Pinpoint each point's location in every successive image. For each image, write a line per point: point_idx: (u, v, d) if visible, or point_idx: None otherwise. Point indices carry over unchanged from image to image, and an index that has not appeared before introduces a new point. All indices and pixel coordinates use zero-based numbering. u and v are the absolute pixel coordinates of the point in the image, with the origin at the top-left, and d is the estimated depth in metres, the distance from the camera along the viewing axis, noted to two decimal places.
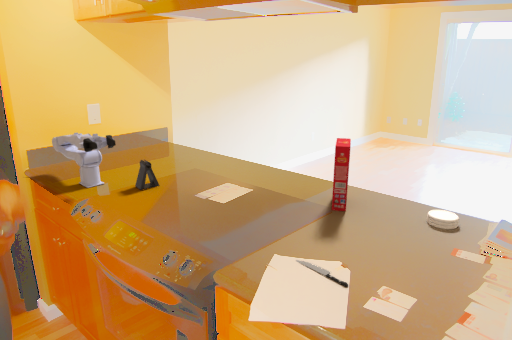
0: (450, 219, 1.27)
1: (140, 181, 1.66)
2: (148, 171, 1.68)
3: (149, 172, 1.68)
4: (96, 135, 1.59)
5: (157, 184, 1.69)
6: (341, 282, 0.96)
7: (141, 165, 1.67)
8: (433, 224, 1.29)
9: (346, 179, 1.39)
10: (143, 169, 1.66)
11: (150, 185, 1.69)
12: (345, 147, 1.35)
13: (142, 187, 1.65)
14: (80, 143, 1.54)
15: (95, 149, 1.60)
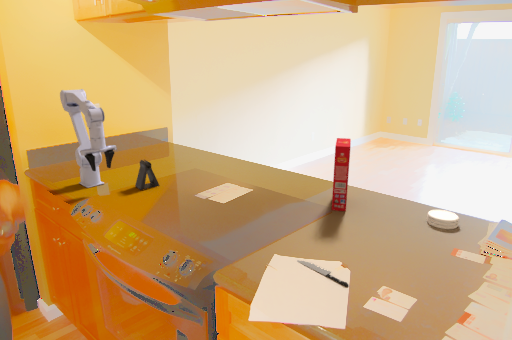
0: (450, 219, 1.27)
1: (140, 181, 1.66)
2: (148, 171, 1.68)
3: (149, 172, 1.68)
4: (103, 150, 1.55)
5: (157, 184, 1.69)
6: (341, 282, 0.96)
7: (141, 165, 1.67)
8: (433, 224, 1.29)
9: (346, 179, 1.39)
10: (143, 169, 1.66)
11: (150, 185, 1.69)
12: (345, 147, 1.35)
13: (142, 187, 1.65)
14: (83, 154, 1.52)
15: None
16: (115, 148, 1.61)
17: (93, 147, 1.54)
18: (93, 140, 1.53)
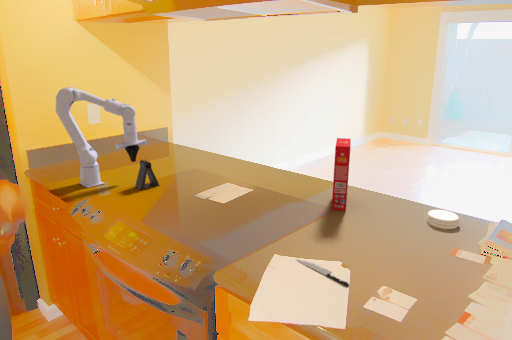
0: (450, 219, 1.27)
1: (140, 181, 1.66)
2: (148, 171, 1.68)
3: (149, 172, 1.68)
4: (135, 144, 1.70)
5: (157, 184, 1.69)
6: (342, 282, 0.96)
7: (141, 165, 1.67)
8: (433, 224, 1.29)
9: (346, 179, 1.39)
10: (143, 169, 1.66)
11: (150, 185, 1.69)
12: (345, 147, 1.35)
13: (142, 187, 1.65)
14: (118, 148, 1.67)
15: None
16: (145, 142, 1.76)
17: (127, 141, 1.69)
18: (127, 135, 1.68)
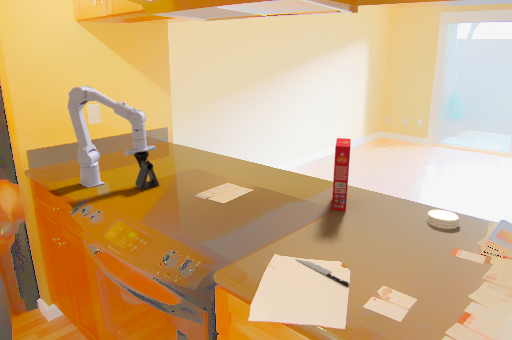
0: (450, 219, 1.27)
1: (141, 181, 1.65)
2: (149, 171, 1.67)
3: (150, 172, 1.67)
4: (145, 150, 1.65)
5: (157, 184, 1.69)
6: (342, 281, 0.96)
7: (142, 165, 1.66)
8: (433, 224, 1.29)
9: (346, 179, 1.39)
10: (144, 169, 1.64)
11: (150, 185, 1.69)
12: (345, 147, 1.35)
13: (142, 187, 1.65)
14: (127, 154, 1.62)
15: None
16: (155, 148, 1.71)
17: (136, 147, 1.64)
18: (136, 141, 1.63)
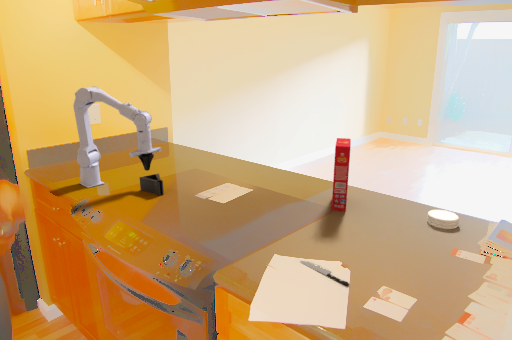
0: (450, 219, 1.27)
1: (145, 188, 1.63)
2: None
3: None
4: (150, 152, 1.63)
5: None
6: (342, 282, 0.96)
7: (155, 185, 1.58)
8: (433, 224, 1.29)
9: (346, 179, 1.39)
10: (154, 190, 1.60)
11: None
12: (345, 147, 1.35)
13: None
14: (132, 156, 1.59)
15: None
16: (160, 150, 1.69)
17: (141, 149, 1.62)
18: (141, 142, 1.61)
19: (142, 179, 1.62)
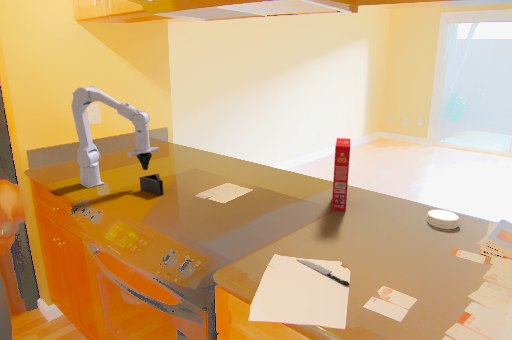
0: (450, 219, 1.27)
1: (145, 188, 1.63)
2: None
3: None
4: (148, 152, 1.64)
5: None
6: (342, 281, 0.96)
7: (155, 185, 1.58)
8: (433, 224, 1.29)
9: (346, 179, 1.39)
10: (154, 190, 1.60)
11: None
12: (345, 147, 1.35)
13: None
14: (130, 156, 1.60)
15: None
16: (158, 150, 1.70)
17: (139, 149, 1.63)
18: (139, 142, 1.62)
19: (142, 179, 1.62)
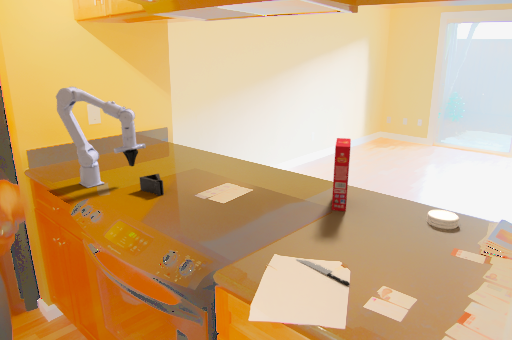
0: (450, 219, 1.27)
1: (145, 188, 1.63)
2: None
3: None
4: (134, 148, 1.68)
5: None
6: (342, 281, 0.96)
7: (155, 185, 1.58)
8: (433, 224, 1.29)
9: (346, 179, 1.39)
10: (154, 190, 1.60)
11: None
12: (345, 147, 1.35)
13: None
14: (116, 152, 1.64)
15: None
16: (144, 146, 1.74)
17: (125, 145, 1.67)
18: (125, 139, 1.66)
19: (142, 179, 1.62)
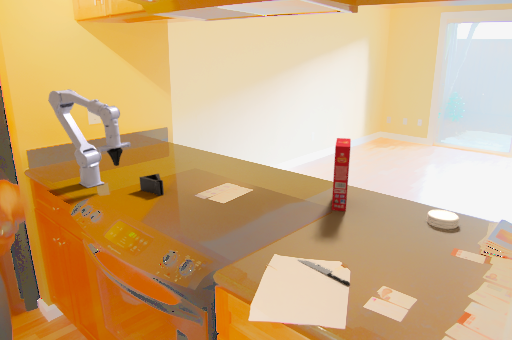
0: (450, 219, 1.27)
1: (145, 188, 1.63)
2: None
3: None
4: None
5: None
6: (343, 281, 0.96)
7: (155, 185, 1.58)
8: (433, 224, 1.29)
9: (346, 179, 1.39)
10: (154, 190, 1.60)
11: None
12: (345, 147, 1.35)
13: None
14: (99, 151, 1.58)
15: None
16: (129, 145, 1.67)
17: (109, 144, 1.60)
18: (109, 137, 1.59)
19: (142, 179, 1.62)
